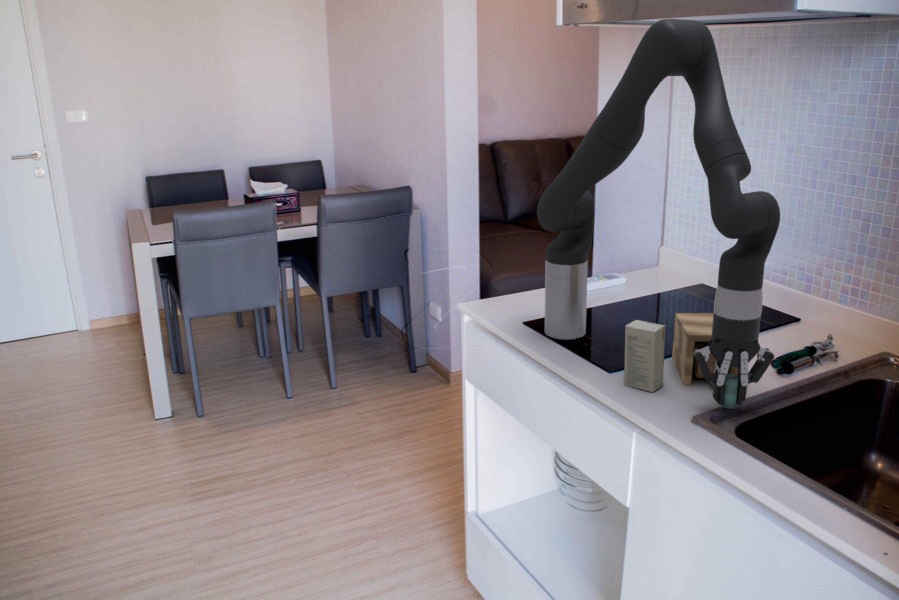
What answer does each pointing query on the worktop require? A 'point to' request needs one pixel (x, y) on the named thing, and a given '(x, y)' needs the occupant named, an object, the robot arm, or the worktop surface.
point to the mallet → (729, 382)
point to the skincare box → (644, 355)
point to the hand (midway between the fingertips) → (728, 402)
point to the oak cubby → (691, 341)
